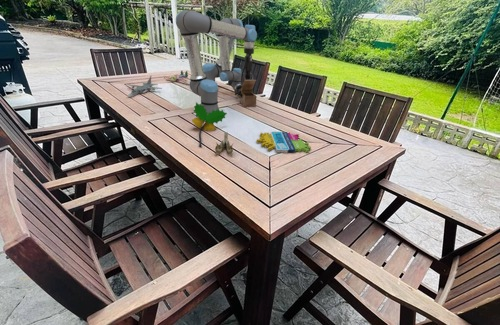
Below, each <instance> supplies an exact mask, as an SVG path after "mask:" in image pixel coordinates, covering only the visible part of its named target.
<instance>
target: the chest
mask: <svg viewBox="0 0 500 325" xmlns="http://www.w3.org/2000/svg"><path fill="white" fill-rule="evenodd" d="M241 94H242V98H241V97H240V96H239V97H240V99H239V103H240V105H242V106H243V107H244V108H255V107H257V95H256V94H255V93H254V94H253V93H252V92H241Z"/></svg>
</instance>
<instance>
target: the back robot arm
mask: <svg viewBox="0 0 500 325" xmlns="http://www.w3.org/2000/svg"><path fill="white" fill-rule="evenodd" d="M220 21H221V22H225V23H229V24H233V25H236V26H240V27H244V25H243V21H241V19H239V18H233V17H232V18H227V17H224V18H222V19H221V20H220ZM216 38H218V46H219V58H218V59H217V60H216V61H215V63H213V62H207V63H204V64H202V66H203V72H204V74H205V75H206V76H207V79H208V80H213V81H215V82H216V79H217V78H219V80H220V81H221V82H229V81H232V82H231V88H232V89H233V93H234V96H237V97H241V98H242V94H241V88H242V85H243V84H242V69H241V68H239V67H234V68H233V69H232V71H231V62H230V61H231V60H230V57H231V54H232V52H233V48H234V44H235V42H236V39H232V38H231V37H228V36H224V35H219V34H216ZM165 80H166V81H168V82H171V81H170V79H168V78H165ZM174 83H179V84H182V85H186V86H189V84H190V83H185V82H182V81H179V80H175V81H174ZM252 93H253V94H255V92H254V91H253V90H252Z"/></svg>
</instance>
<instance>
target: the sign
mask: <svg viewBox="0 0 500 325" xmlns="http://www.w3.org/2000/svg"><path fill="white" fill-rule="evenodd" d="M299 136H300V135H299V134H298V133H296V134H294V133H291V132H287V131H270V132H264V133H263V132H260V133H259V139H258V138H257V139H256V143H257V144H261V148H263V147H264V148H265V149H267V151H268V152H271V151H272V150H273V149H275V152H276V153H283V154H285V153H287V154H288V153H290V154H293V153H296V152H298V153H301V152H305V153H310V151H311V150H312V149H311V148H312V146H309V142H304V141H303V139H302V138H299Z"/></svg>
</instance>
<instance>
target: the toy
mask: <svg viewBox="0 0 500 325" xmlns="http://www.w3.org/2000/svg"><path fill="white" fill-rule="evenodd" d="M188 76H189V74H188V70H186V71H185V73H184V71H183V70H181V71H180V74H174V75H171V76H166V75H164V76H163V79H164V80H166V79H167V80H170V81H169V82H174V81H184V82H187V78H188ZM174 83H175V82H174Z"/></svg>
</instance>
